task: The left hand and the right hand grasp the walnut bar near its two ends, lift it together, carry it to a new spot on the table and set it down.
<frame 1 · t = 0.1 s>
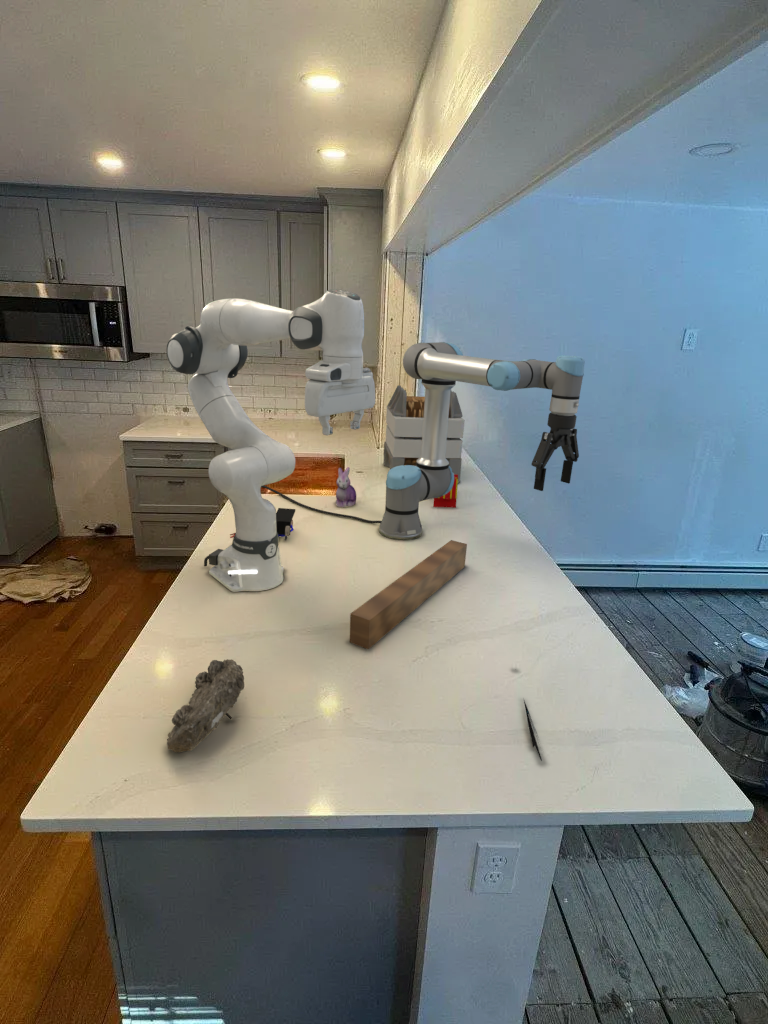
left hand: (341, 431, 129), 48 cm above the counter, tool pointing down, fingers open, 8 cm apart
right hand: (552, 486, 166), 28 cm above the counter, tool pointing down, fingers open, 13 cm apart
bar: (414, 599, 155), on the counter
figurine: (345, 504, 227), on the counter
feather: (526, 712, 113), on the counter
figurine character: (283, 535, 194), on the counter
toy: (440, 497, 241), on the counter
fossil: (212, 717, 108), on the counter
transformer: (419, 473, 275), on the counter
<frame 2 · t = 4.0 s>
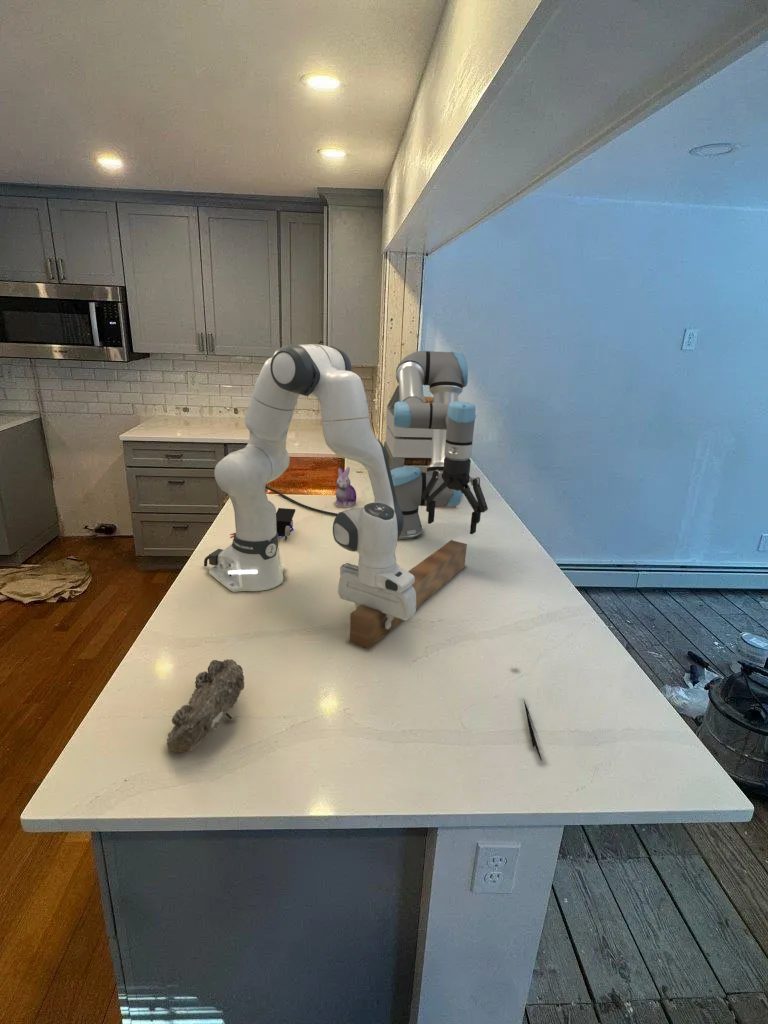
left hand: (374, 623, 138), 3 cm above the counter, tool pointing down, fingers closed on bar, 5 cm apart
right hand: (451, 527, 167), 15 cm above the counter, tool pointing down, fingers open, 13 cm apart
bar: (414, 599, 155), on the counter, touching left hand
everything else where it was.
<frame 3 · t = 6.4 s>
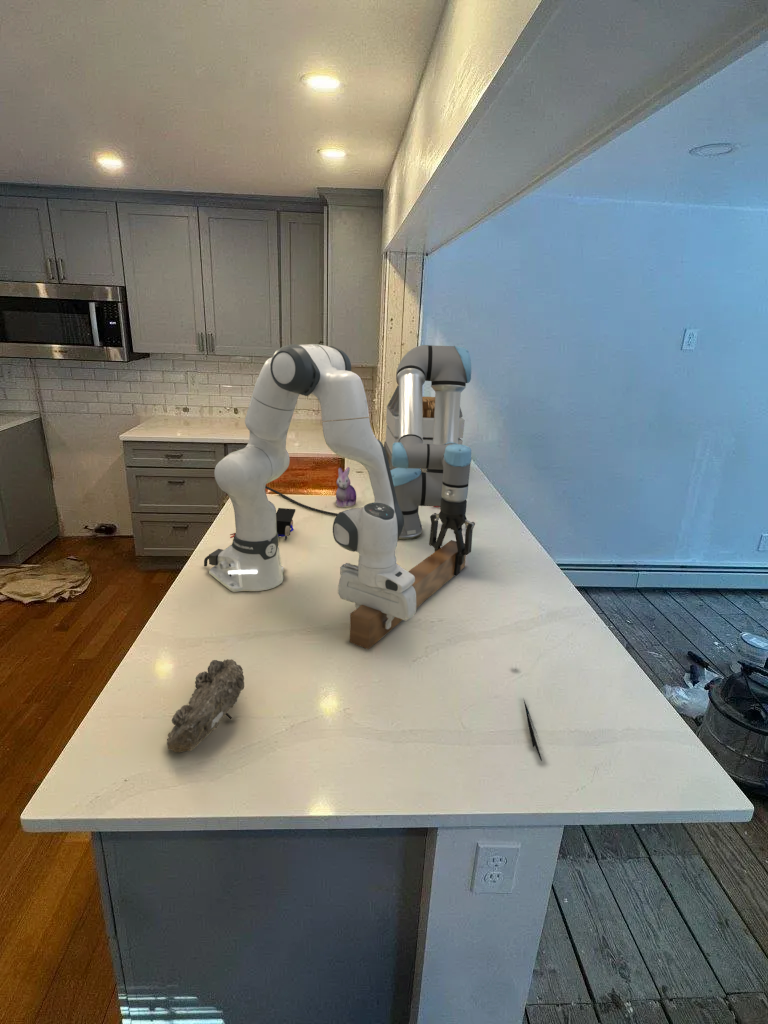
left hand: (374, 623, 137), 3 cm above the counter, tool pointing down, fingers closed on bar, 5 cm apart
right hand: (447, 570, 172), 1 cm above the counter, tool pointing down, fingers closed on bar, 5 cm apart
bar: (415, 599, 155), on the counter, touching right hand, left hand
everything else where it was.
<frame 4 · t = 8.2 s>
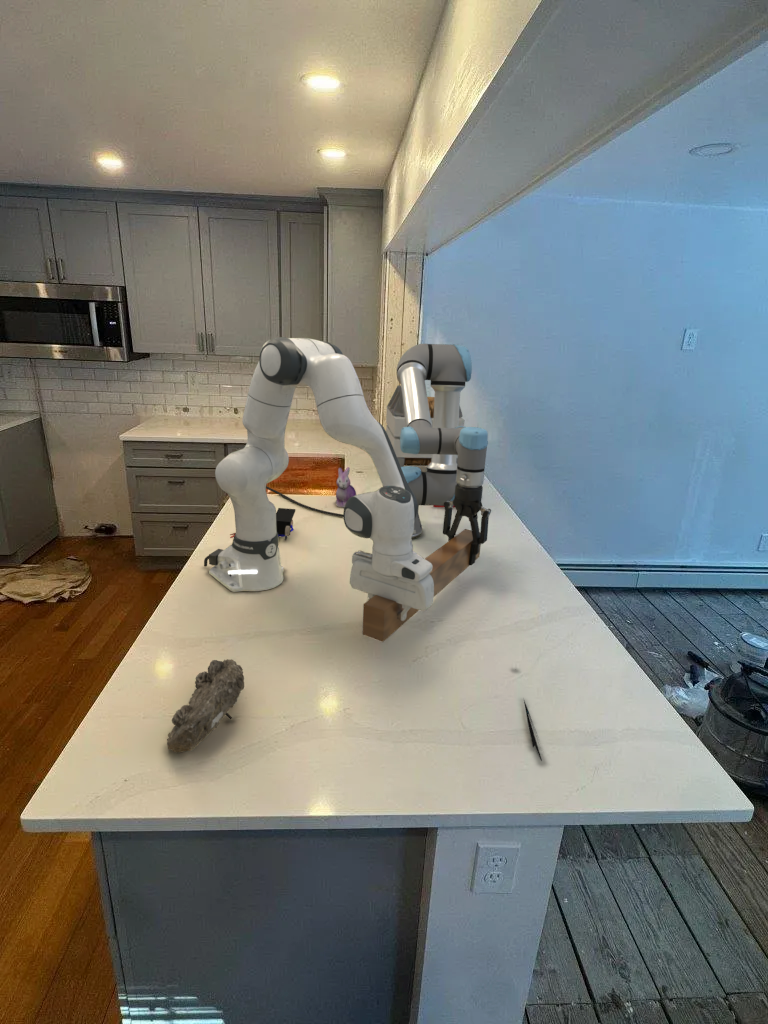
left hand: (389, 614, 130), 9 cm above the counter, tool pointing down, fingers closed on bar, 5 cm apart
right hand: (462, 560, 164), 7 cm above the counter, tool pointing down, fingers closed on bar, 5 cm apart
bar: (429, 590, 147), point 6 cm above the counter, touching right hand, left hand
everything else where it was.
when the right hand's fingers open (2 cm above the counter, at t = 10.2 s): bar drops 1 cm, on the counter.
when the left hand's fingers open (4 cm above the counter, at t = 10.4 s): bar stays where it is, on the counter.
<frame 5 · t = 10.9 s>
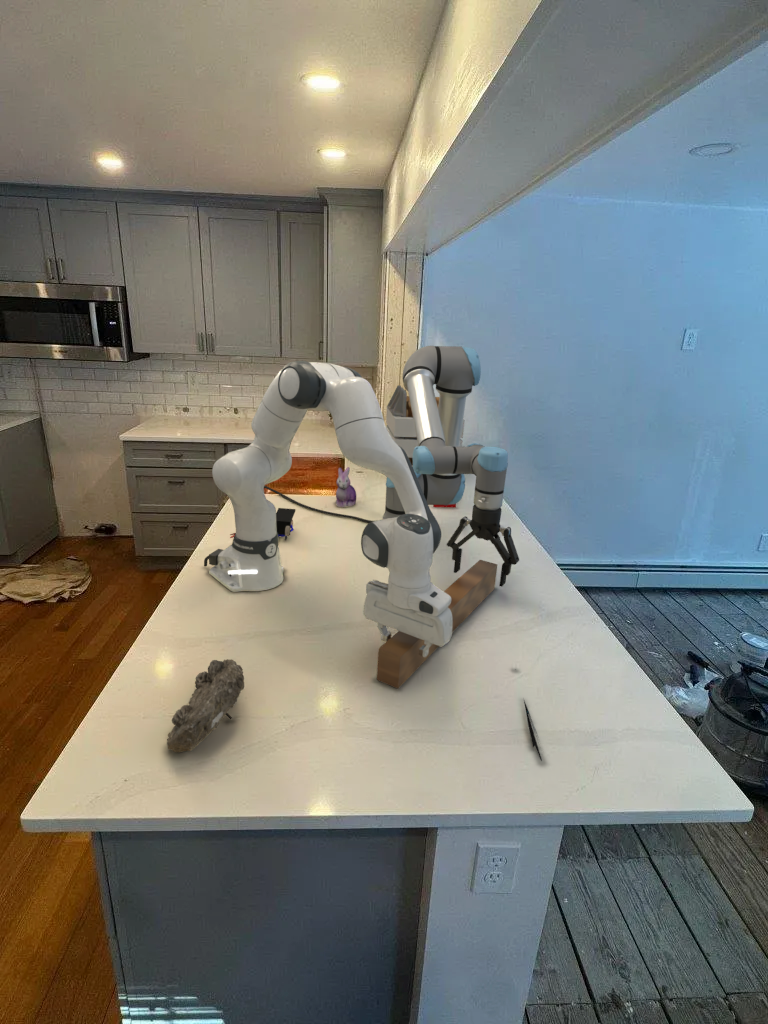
left hand: (404, 647, 123), 5 cm above the counter, tool pointing down, fingers open, 8 cm apart
right hand: (479, 577, 158), 5 cm above the counter, tool pointing down, fingers open, 13 cm apart
bar: (444, 627, 142), on the counter
everything else where it was.
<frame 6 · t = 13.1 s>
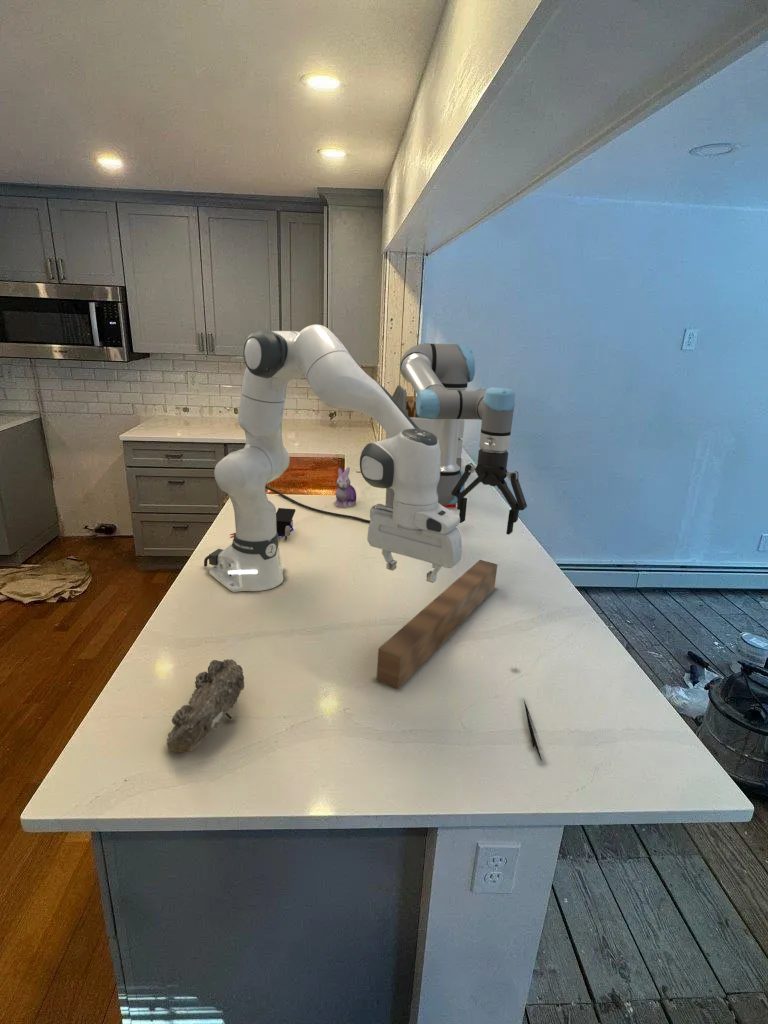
left hand: (410, 575, 117), 23 cm above the counter, tool pointing down, fingers open, 8 cm apart
right hand: (485, 527, 152), 21 cm above the counter, tool pointing down, fingers open, 13 cm apart
nothing on the counter moved.
at the end: bar inside the target area (0.3 cm from its centre), on the counter; bar tilted 0°; bar never tilted more than 2° during the clip; both hands held the bar at the same time; the left hand is holding nothing; the right hand is holding nothing; bar at rest at the end (0.0 cm/s) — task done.
